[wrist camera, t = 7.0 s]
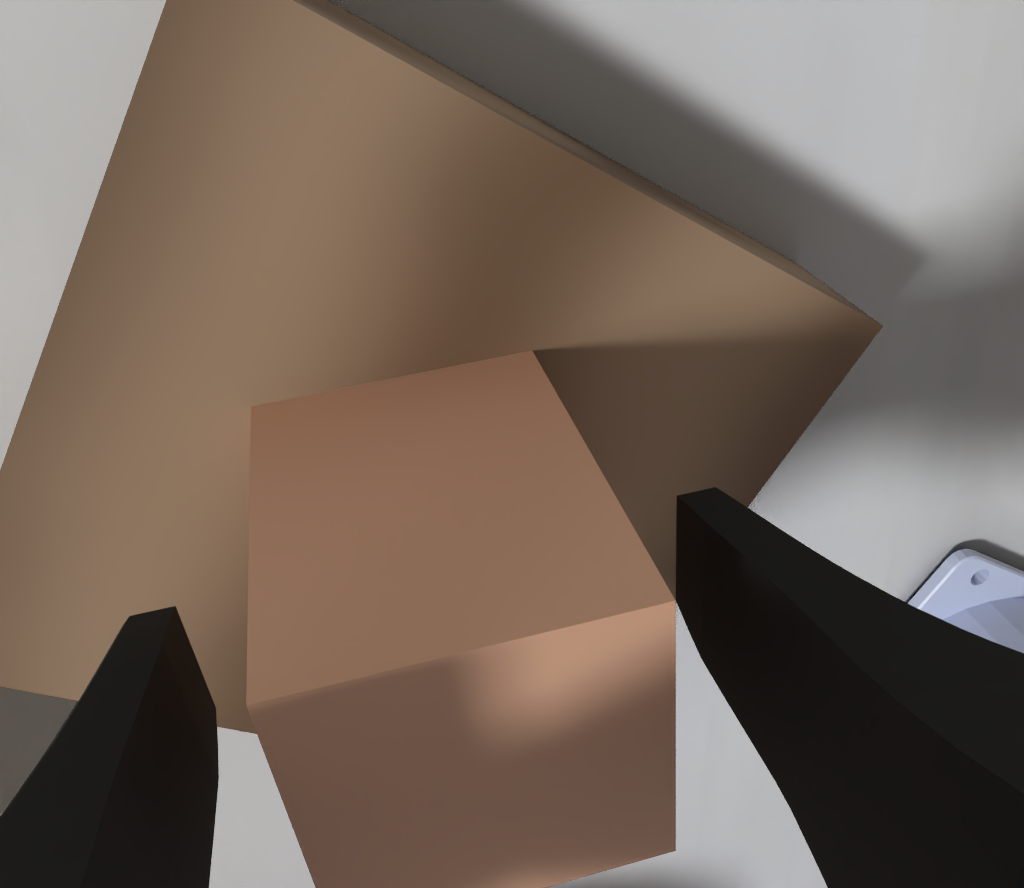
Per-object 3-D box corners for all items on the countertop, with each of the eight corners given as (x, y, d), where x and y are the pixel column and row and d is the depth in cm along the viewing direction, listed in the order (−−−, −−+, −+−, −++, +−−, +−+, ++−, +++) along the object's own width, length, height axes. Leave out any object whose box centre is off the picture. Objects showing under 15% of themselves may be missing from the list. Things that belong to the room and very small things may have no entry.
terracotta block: (532, 350, 14) (675, 600, 9) (552, 562, 17) (676, 850, 12) (250, 406, 14) (246, 705, 9) (313, 618, 16) (338, 947, 11)
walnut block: (797, 264, 18) (882, 325, 16) (508, 685, 23) (539, 785, 20) (201, -71, 13) (186, -59, 11) (-25, 559, 17) (-72, 673, 15)
